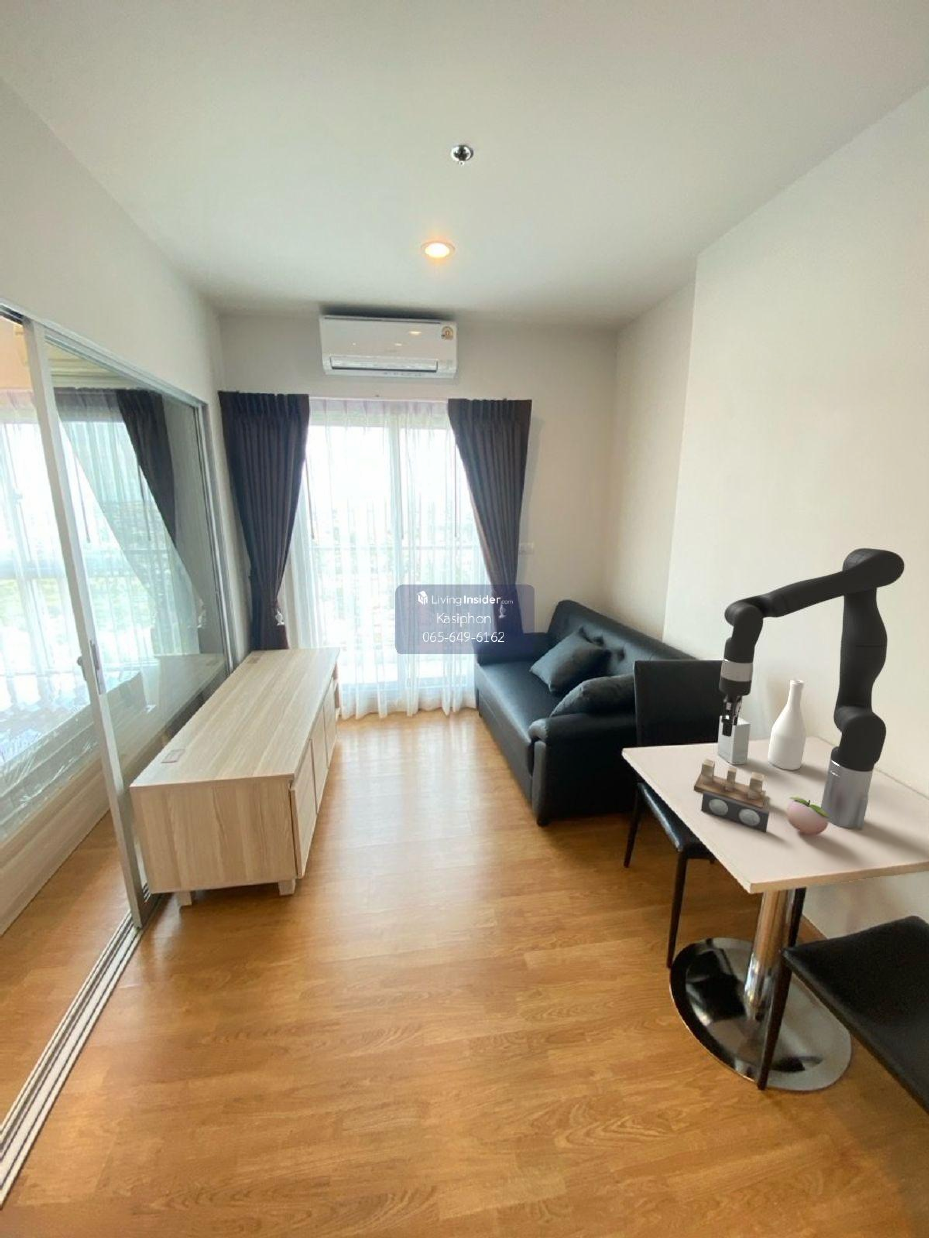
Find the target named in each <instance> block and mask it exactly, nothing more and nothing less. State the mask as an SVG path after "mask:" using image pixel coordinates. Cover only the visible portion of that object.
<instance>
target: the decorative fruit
mask: <svg viewBox="0 0 929 1238" xmlns="http://www.w3.org/2000/svg"><path fill="white" fill-rule="evenodd" d="M789 799H791V800H792V801H790V802H789V804H787V807H786V811H785V813H786V814H785V815H786V817H787V820H788V823H789V824H790V825H791V826H792V827H793V828H794V829H795V830H797V831H800V832H801V833H803V834H806V835H810V836H811V835H812V836H813V835H815V836H816V835H819V834H821V833H822V832H824V831H825V830H826V829H827V827H828V826H829V821H828V819H829V818H828V816H827V814H826V813H825V811H824V810H823V809H822V808H821V806H819V805H817V804H815V803H814V804H813V803H811V800H810V799H808V801H807V800H805V798H801V797H799V796H794V797H793V796H791V797H789Z"/></svg>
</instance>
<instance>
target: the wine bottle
mask: <svg viewBox="0 0 929 1238" xmlns="http://www.w3.org/2000/svg"><path fill="white" fill-rule="evenodd" d="M789 683H790V684H789V693H788V698H787V703H786V705H785V706H784V708H783V709H782V711H781V713H780V715H779V716H778V718H777V719H776V720H775V722H774V724H773V725H772V727H771V728H772V729H771V735H770V740H769V746H768V752H767V760H768V762H769V763H770V764H771V765H773V766H775V767H777V768H780V769H783V770H789V771H795V770H798V769H800V767H801V766H802V763H803V757H804V751H805V746H806V742H807V741H806V740H807V733H806V727H805V724H804V718H803V715H802V709H801V702H802V701H801V700H802V694H803V693H802V691H803V689H804V687H805V683H804V681H803V680H801V679H796V678H793V679H791V681H790V682H789Z"/></svg>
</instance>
